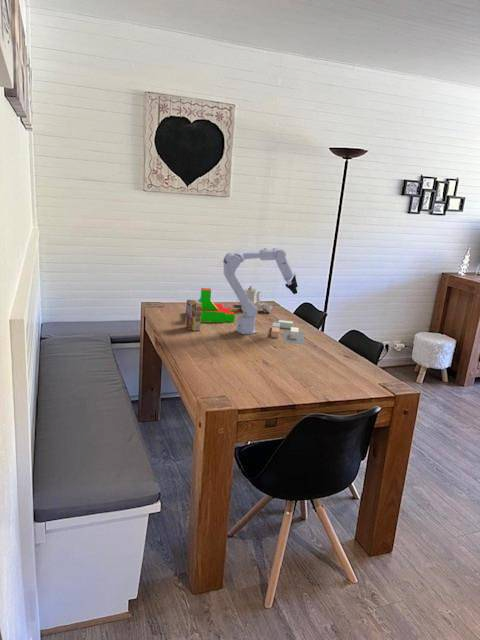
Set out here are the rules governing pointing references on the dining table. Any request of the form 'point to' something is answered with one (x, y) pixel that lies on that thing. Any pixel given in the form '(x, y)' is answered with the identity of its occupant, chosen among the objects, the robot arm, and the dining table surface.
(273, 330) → the terracotta brick
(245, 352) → the dining table surface
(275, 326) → the slate brick
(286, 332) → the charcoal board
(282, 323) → the sage brick
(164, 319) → the dining table surface
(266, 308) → the chinaware
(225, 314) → the building blocks toy
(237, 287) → the robot arm
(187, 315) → the candy box
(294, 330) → the cream brick
